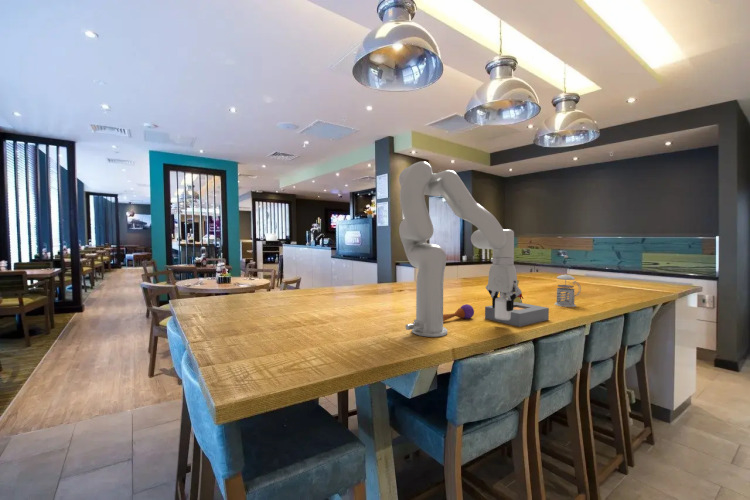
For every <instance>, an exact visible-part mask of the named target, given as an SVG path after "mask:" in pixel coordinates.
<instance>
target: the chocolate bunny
mask: <svg viewBox="0 0 750 500" xmlns="http://www.w3.org/2000/svg"><path fill="white" fill-rule="evenodd" d="M519 283H520V281H519V280H518V279H517V286H518V287H519ZM514 293H515V292H514ZM506 298H507V294H506ZM523 300H524V297H523V293H521V294H520V295H518V297H517V298H515V300H514V302H519V303H523Z"/></svg>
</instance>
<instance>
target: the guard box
mask: <svg viewBox="0 0 750 500" xmlns="http://www.w3.org/2000/svg"><path fill="white" fill-rule="evenodd" d="M514 307H519V308H524V309H520V310H515V309H513V310H512V311H511V319H510V320H499V319H496V318H495V308H492V305H486V306H485V307H484V319H486V320H489V321H493V322H499V323H501V324H506V325H511V326H514V327H518V328H519V327H524V326H528V325H533V324H537V323H542V322H545V321H549V313H550V312H549V311H550V307H547V306H541V305H535V304H530V303H524V302H522V303H519V302H514Z"/></svg>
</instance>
